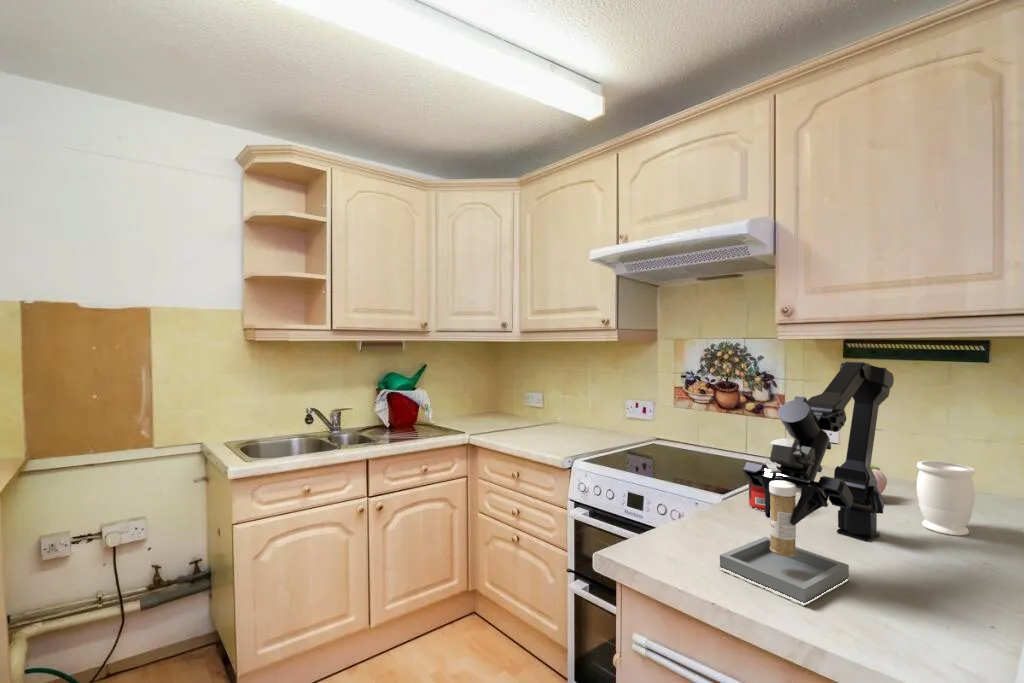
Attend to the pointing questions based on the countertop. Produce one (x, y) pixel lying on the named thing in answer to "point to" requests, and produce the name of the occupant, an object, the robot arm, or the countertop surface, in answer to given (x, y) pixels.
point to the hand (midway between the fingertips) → (779, 520)
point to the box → (785, 569)
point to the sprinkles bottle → (782, 518)
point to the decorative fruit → (879, 478)
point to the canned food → (759, 491)
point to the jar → (945, 496)
